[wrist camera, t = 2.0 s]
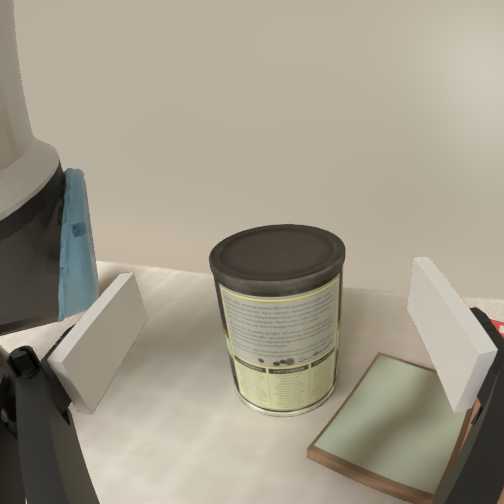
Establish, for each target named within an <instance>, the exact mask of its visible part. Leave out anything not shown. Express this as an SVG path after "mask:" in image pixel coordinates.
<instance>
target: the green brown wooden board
mask: <svg viewBox="0 0 504 504" xmlns="http://www.w3.org/2000/svg"><path fill="white" fill-rule="evenodd" d="M480 405H481V404H480V402H479V400H478V398H476V400H475V402H474V404H473V406H472V408H470V409H466V410H462V411H458V412H453V410H452V407H451V405H450V402H449V400H448V397H447V395H446V392H445V390H444V388H443V385H442V383H441V381H440V378H439V376H438V374H437V371H435V370H432V369H428V368H425V367H422V366H419V365H416V364H413V363H410V362H407V361H404V360H401V359H398V358H395V357H392V356H389V355H386V354H383V353H380V352H379V353H378V354H377V356H376V357H375V359H374V360H373V362H372V363H371V365H370V366H369V368H368V369H367V371H366V372H365V374H364V375H363V376H362V378H361V379H360V381H359V382H358V384H357V385H356V386H355V388H354V389H353V391H352V392H351V393H350V395H349V396H348V398H347V399H346V400H345V402H344V403H343V404H342V406H341V407H340V408H339V410H338V411H337V412H336V414H335V415H334V416H333V417H332V419H331V420H330V421H329V423H328V424H327V425H326V426H325V428H324V429H323V430H322V431H321V433H320V434H319V435H318V436H317V437H316V439H315V440H314V441H313V442H312V443H311V445H310V446H309V447H308V448H307V457H308V458H310V459H312V460H314V461H316V462H318V463H320V464H322V465H324V466H326V467H328V468H330V469H332V470H334V471H336V472H338V473H340V474H342V475H345V476H347V477H349V478H351V479H353V480H356V481H358V482H360V483H363V484H365V485H367V486H370V487H372V488H374V489H377V490H379V491H382V492H384V493H387V494H389V495H392V496H395V497H397V498H400V499H403V500H405V501H408V502H411V503H414V504H432V502H433V501H434V499H435V497H436V496H437V494H438V492H439V491H440V489H441V487H442V485H443V483H444V482H445V480H446V478H447V476H448V474H449V472H450V471H451V469H452V467H453V465H454V463H455V461H456V459H457V457H458V455H459V453H460V450H461V448H462V446H463V444H464V442H465V440H466V437H467V435H468V433H469V431H470V428H471V426H472V424H470V423H471V422H472V420H473V418H474V416H475V415H476V413H477V411H478V409H479V407H480ZM497 504H504V488H503V490H502V493H501V495H500V498H499V500H498V502H497Z"/></svg>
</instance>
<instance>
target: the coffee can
mask: <svg viewBox="0 0 504 504" xmlns="http://www.w3.org/2000/svg"><path fill="white" fill-rule="evenodd" d="M344 260H345V246H344V244H343V242H342V241H341V239H340V238H339V237H337V236H336V235H335V234H333V233H331V232H329V231H326V230H323V229H320V228H316V227H312V226H305V225H294V224H284V225H283V224H282V225H269V226H263V227H257V228H253V229H249V230H245V231H242V232H239V233H236V234H234V235H232V236H229V237H228V238H226V239H224V240H223V241H221V242H220V243H218V244H217V245H216V246H215V247H214V248H213V250H212V251H211V253H210V256H209V263H210V268H211V271H212V273H213V276H214V281H215V287H216V292H217V297H218V303H219V308H220V313H221V318H222V323H223V328H224V333H225V338H226V343H227V348H228V353H229V358H230V363H231V368H232V373H233V377H234V385H235V390H236V392H237V394H238V396H239V397H240V399H241V400H242V401H243V402H244V403H245V404H246V405H247V406H249V407H250V408H252V409H253V410H255V411H257V412H260V413H262V414H266V415H270V416H276V417H284V416H296V415H300V414H304V413H306V412H309V411H311V410H313V409H315V408H317V407H319V406H320V405H322V404H323V403H324V402H325V401H326V400H327V399H328V398H329V397H330V396H331V394H332V393H333V391H334V389H335V386H336V383H337V364H338V353H339V340H340V327H341V308H342V287H343V263H344Z"/></svg>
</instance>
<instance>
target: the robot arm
mask: <svg viewBox="0 0 504 504" xmlns="http://www.w3.org/2000/svg"><path fill="white" fill-rule="evenodd" d="M98 295H99V281H98V273H97V266H96V259H95V252H94V245H93V238H92V230H91V222H90V214H89V206H88V198H87V191H86V184H85V180H84V173H83V172H82V170H80V169H72V168H68V169H67V170H66V171H65V172H63V170H62V167H61V164H60V160H59V156H58V153H57V151H56V149H55V148H54V147H53V146H51V145H49V144H47V143H45V142H43V141H40V140H38V139H36V138H35V137H34V136H33V134H32V130H31V126H30V122H29V117H28V112H27V108H26V103H25V97H24V93H23V87H22V81H21V74H20V69H19V61H18V53H17V44H16V34H15V22H14V5H13V0H0V336H2V335H6V334H10V333H14V332H18V331H22V330H26V329H30V328H34V327H38V326H42V325H46V324H50V323H54V322H61V321H63V320H64V318H67V317H69V316H72V315H75V314H78V313H81V312H83V311H86V310H88V311H87V312H86V313H85V314H84V315H83V316H82V318H81V319H80V320H79V321H78V322H77V323H76V324H74V325H73V326H71V327H70V328H69V329H67V330H66V331H65V332H64V334H63V335H62V336H61V337H60V339H58V341H57V342H56V344H55V345H54V346H53V347H52V348H51V349H50V350H49V352H48V353H47V354H46V355H45V357H44V358H43V359H42V360H41V362H40V361H39V359H38V357H37V356H36V354H35V352H34V350H33V348H32V347H30V346H22V347H19V348H17V349H15V350H13V351H12V352H11V353H10V354H9V353H8V352H7V351H6V350H4V349H3V348H2V347H1V346H0V504H25V503H26V500H27V504H100V503H99V501H98V498H97V495H96V493H95V490H94V487H93V485H92V482H91V479H90V476H89V473H88V470H87V467H86V464H85V461H84V458H83V454H82V451H81V448H80V444H79V441H78V437H77V434H76V430H75V426H74V422H73V418H72V414H71V412H70V410H69V408H68V406H69V404H70V403H71V401H72V403H73V404H74V406H75V408H76V409H77V411H80V412H84V413H88V414H93V413H94V411H95V409H96V407H97V406H98V404H99V402H100V400H101V398H102V397H103V395H104V393H105V391H106V389H107V388H108V386H109V384H110V382H111V381H112V379H113V377H114V375H115V374H116V372H117V370H118V369H119V367H120V365H121V363H122V362H123V360H124V358H125V357H126V355H127V353H128V351H129V350H130V348H131V346H132V345H133V343H134V341H135V340H136V338H137V336H138V335H139V333H140V331H141V330H142V328H143V326H144V325H145V323H146V321H147V320H148V319H147V316H146V312H145V309H144V306H143V303H142V300H141V296H140V293H139V290H138V286H137V283H136V279H135V276H134V273H120V275H119V276H118V277H117V278H116V279H115V280H114V281H113V282H112V283H111V284H110V286H109V287H108V288H107V289H106V290H105V291H104V292H103V293H102V294H101V296H100V297H99V298H98ZM97 298H98V299H97ZM407 310H408V312H409V314H410V316H411V318H412V320H413V322H414V324H415V326H416V328H417V330H418V332H419V334H420V336H421V338H422V341H423V343H424V345H425V347H426V349H427V351H428V353H429V356H430V358H431V360H432V362H433V365H434V367H435V369H436V371H437V374H438V376H439V378H440V381H441V383H442V385H443V388H444V390H445V392H446V395H447V397H448V400H449V402H450V405H451V407H452V410H453V412H458V411H462V410H466V409H470V408H472V406H473V404H474V402H475V400H476V398H478V400H479V402H480V404H481V405H480V407H479V409H478V411H477V413H476V415H475V416H474V418H473V420H472V422H471V423H470V424H472V426H471V428H470V431H469V433H468V435H467V437H466V440H465V442H464V444H463V446H462V448H461V450H460V453H459V455H458V457H457V459H456V461H455V463H454V465H453V467H452V469H451V471H450V472H449V474H448V476H447V478H446V480H445V482H444V483H443V485H442V487H441V489H440V491H439V492H438V494H437V496H436V497H435V499H434V501H433V502H432V504H497V502H498V500H499V498H500V495H501V493H502V490H503V488H504V338H503V337H502V335H501V334H500V333H499V331H498V330H496V327H495V326H494V324H493V323H492V322H491V320H490V319H489V318H488V316H487V315H486V314H485V313H484V312H482V311H481V310H479V309H478V308H477V307H474V308H468V306H467V305H466V303H465V302H464V301H463V299H462V298H461V297H460V296H459V294H458V293H457V292H456V290H455V289H454V288H453V287H452V285H451V284H450V283H449V281H448V280H447V279H446V278H445V276H444V275H443V274H442V273H441V271H440V270H439V269H438V268H437V266H436V265H435V264H434V263H433V261H432V260H431V259H430V258H429V257H415V258H414V259H413V268H412V277H411V284H410V291H409V298H408V305H407Z"/></svg>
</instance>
